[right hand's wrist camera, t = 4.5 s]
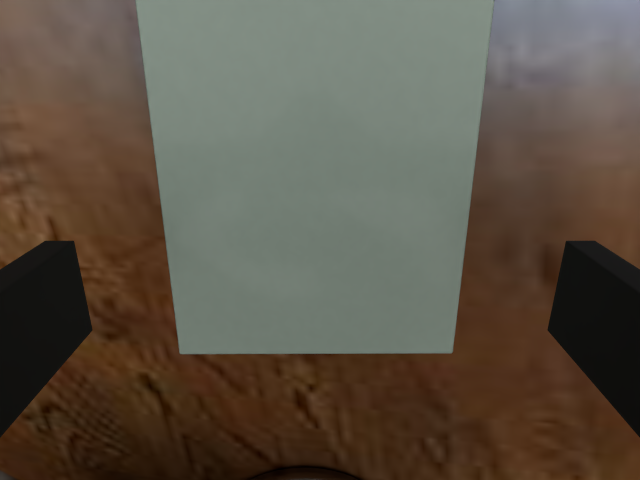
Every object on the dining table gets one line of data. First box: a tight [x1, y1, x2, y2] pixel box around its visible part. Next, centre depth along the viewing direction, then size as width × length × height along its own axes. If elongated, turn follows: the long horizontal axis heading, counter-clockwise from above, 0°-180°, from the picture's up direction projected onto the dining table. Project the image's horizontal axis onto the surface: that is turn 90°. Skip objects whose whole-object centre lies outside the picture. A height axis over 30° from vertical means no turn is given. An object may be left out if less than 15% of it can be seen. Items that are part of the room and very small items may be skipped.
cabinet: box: [135, 0, 494, 354], centre depth 19 cm, size 18×10×12 cm, turn 0°
